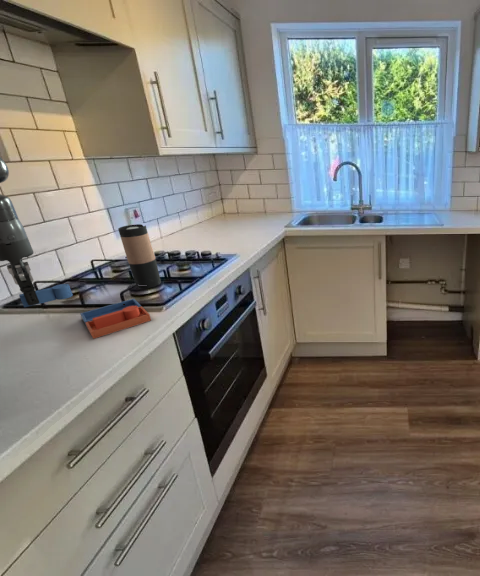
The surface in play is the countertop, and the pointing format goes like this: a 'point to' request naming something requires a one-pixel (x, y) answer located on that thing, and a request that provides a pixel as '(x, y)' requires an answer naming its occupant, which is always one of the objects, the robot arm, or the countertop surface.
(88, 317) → the blue tray
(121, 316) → the orange elongated piece
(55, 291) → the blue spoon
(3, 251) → the robot arm
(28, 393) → the countertop surface
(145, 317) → the terracotta tray
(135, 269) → the travel mug
